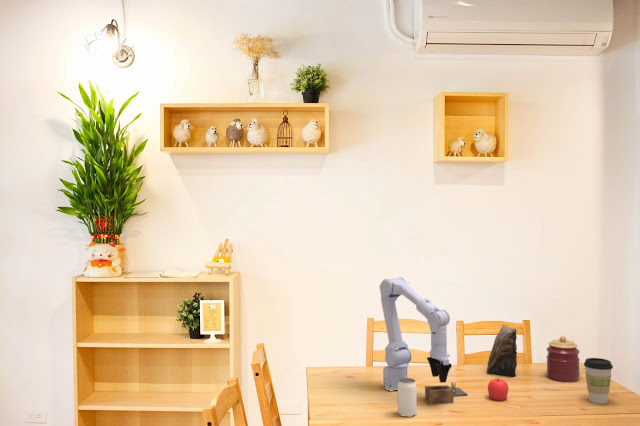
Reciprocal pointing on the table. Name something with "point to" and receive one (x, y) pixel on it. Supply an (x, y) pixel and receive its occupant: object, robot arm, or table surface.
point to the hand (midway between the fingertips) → (439, 379)
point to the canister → (563, 360)
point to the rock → (503, 353)
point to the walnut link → (439, 394)
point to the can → (407, 397)
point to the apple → (498, 389)
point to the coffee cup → (598, 379)
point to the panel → (457, 390)
